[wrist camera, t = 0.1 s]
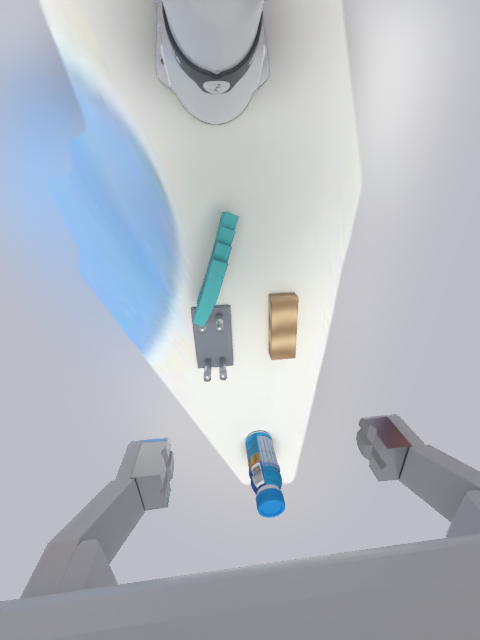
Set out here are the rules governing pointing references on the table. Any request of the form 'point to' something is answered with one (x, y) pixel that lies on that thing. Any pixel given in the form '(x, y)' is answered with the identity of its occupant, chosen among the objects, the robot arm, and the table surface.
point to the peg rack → (214, 341)
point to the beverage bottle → (264, 474)
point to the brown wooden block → (282, 325)
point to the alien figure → (215, 268)
